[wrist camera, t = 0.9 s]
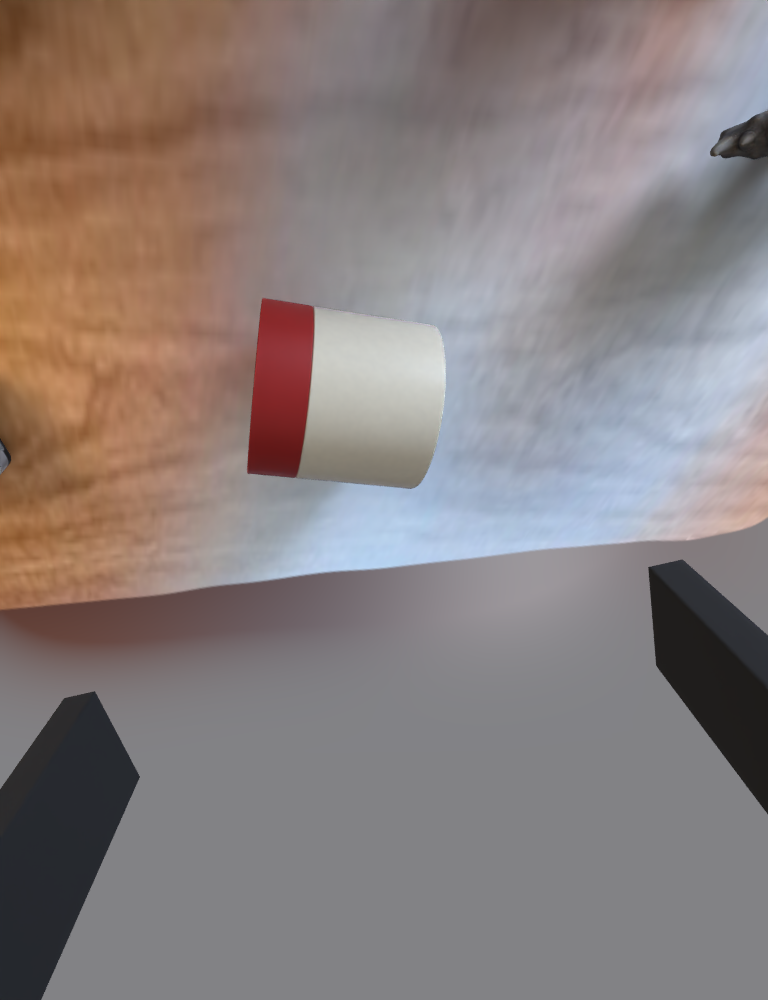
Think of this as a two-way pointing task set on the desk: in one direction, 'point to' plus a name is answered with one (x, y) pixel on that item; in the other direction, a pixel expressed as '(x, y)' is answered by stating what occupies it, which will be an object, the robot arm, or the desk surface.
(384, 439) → the canister
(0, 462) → the external hard drive
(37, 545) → the desk surface
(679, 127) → the desk surface
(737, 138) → the rhino figurine
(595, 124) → the desk surface
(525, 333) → the desk surface
